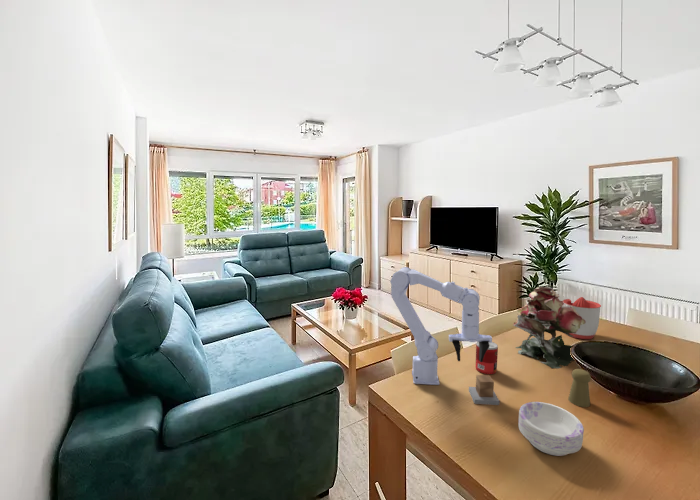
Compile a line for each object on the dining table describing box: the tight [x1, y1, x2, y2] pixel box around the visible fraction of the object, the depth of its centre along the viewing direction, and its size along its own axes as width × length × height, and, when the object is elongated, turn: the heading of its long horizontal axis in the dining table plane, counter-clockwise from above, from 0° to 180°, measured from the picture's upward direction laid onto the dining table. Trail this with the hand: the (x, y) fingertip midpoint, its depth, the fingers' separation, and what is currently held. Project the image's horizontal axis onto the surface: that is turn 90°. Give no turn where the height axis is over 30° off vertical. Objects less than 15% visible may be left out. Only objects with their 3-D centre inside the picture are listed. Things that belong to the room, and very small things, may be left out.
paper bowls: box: [518, 401, 585, 457], centre depth 91 cm, size 15×15×8 cm
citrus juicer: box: [562, 296, 602, 340], centre depth 165 cm, size 16×17×20 cm
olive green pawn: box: [568, 368, 592, 408], centre depth 109 cm, size 6×6×11 cm
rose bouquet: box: [513, 286, 586, 369], centre depth 147 cm, size 26×29×30 cm
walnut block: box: [475, 374, 495, 397], centre depth 113 cm, size 4×4×6 cm
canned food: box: [475, 341, 499, 375], centre depth 131 cm, size 8×8×11 cm
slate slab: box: [468, 386, 500, 406], centre depth 113 cm, size 8×8×2 cm
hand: (469, 360), depth 118 cm, fingers open, 7 cm apart
